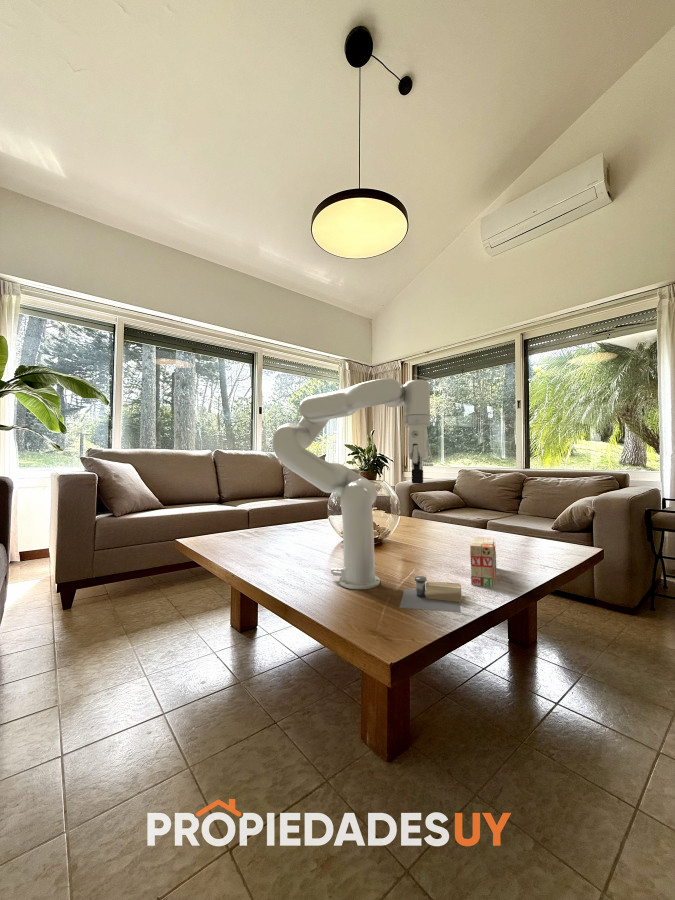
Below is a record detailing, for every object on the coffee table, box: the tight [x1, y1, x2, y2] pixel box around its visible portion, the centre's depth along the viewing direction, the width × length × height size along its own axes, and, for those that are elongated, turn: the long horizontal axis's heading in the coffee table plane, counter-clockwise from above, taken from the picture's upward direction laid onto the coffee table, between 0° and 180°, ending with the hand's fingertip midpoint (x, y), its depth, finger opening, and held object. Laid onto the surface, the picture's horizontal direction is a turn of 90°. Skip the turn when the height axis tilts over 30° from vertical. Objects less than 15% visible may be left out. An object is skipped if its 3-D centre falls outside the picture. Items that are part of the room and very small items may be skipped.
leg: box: [425, 581, 463, 603], centre depth 102 cm, size 3×9×4 cm, turn 69°
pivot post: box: [414, 575, 428, 598], centre depth 104 cm, size 3×3×5 cm
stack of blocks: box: [469, 536, 497, 588], centre depth 120 cm, size 21×6×12 cm, turn 155°
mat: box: [399, 588, 462, 613], centre depth 101 cm, size 15×14×1 cm
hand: (417, 483), depth 112 cm, fingers closed
